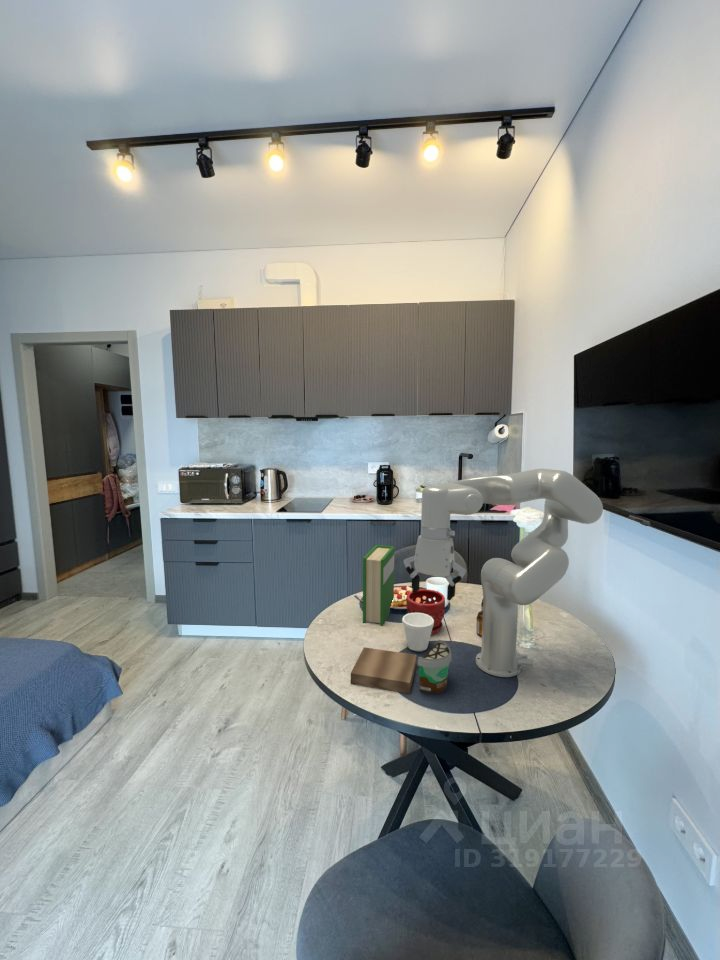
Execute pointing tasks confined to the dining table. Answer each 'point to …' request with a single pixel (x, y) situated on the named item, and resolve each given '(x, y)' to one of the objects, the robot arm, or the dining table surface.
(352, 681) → the walnut base
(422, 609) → the plant pot
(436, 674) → the food container
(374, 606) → the hardback book
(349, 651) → the dining table surface
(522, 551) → the robot arm
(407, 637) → the cup
